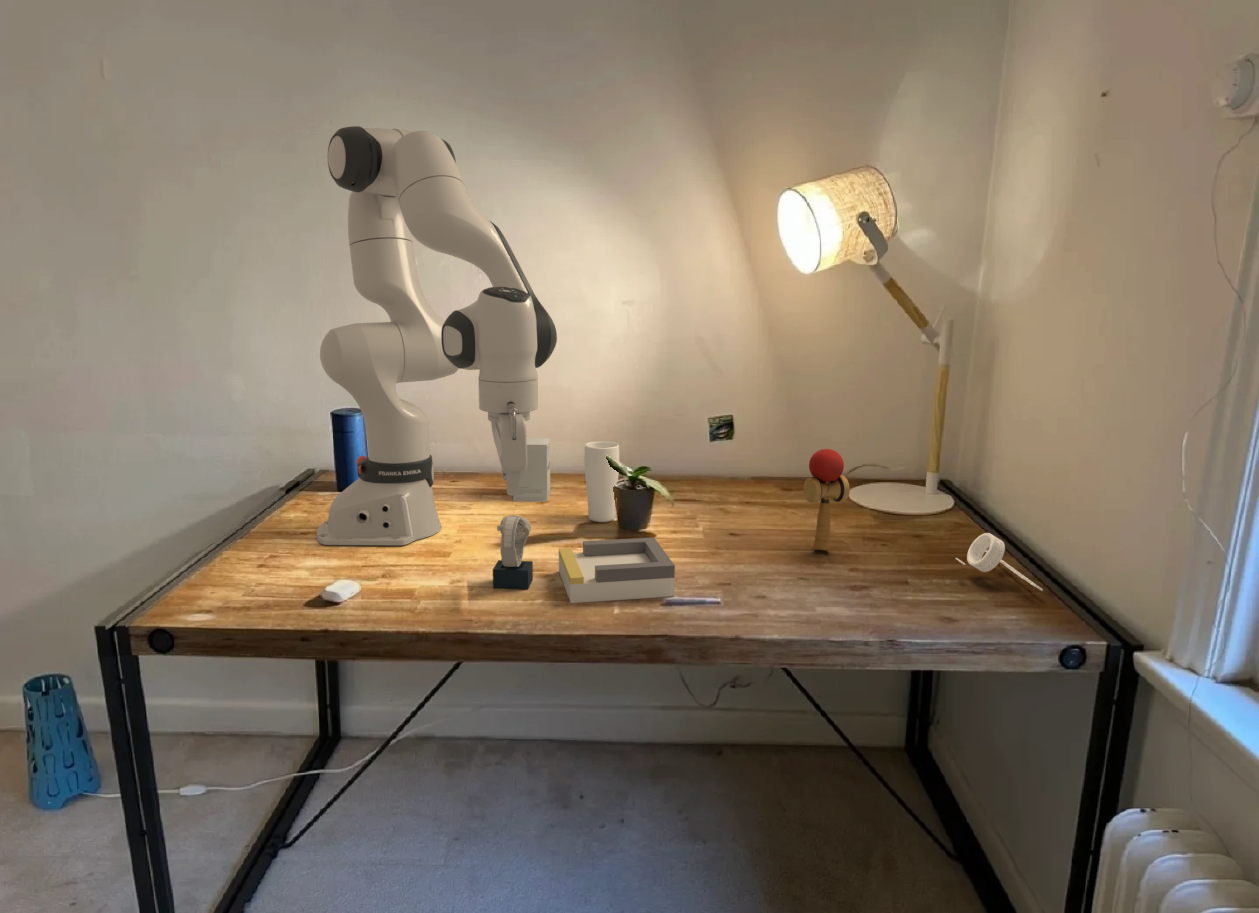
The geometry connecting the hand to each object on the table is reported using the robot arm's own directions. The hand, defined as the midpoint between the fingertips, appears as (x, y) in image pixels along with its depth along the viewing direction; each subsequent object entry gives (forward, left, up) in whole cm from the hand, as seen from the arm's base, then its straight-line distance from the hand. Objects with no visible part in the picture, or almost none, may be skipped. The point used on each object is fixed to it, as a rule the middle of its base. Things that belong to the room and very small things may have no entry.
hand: (510, 486), depth 141 cm
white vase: (+20, +33, -16) cm, 42 cm away
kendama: (+56, +9, -16) cm, 59 cm away
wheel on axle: (+77, -8, -17) cm, 79 cm away
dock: (+16, -2, -16) cm, 23 cm away
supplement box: (+8, +50, -16) cm, 53 cm away
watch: (0, +1, -16) cm, 16 cm away
